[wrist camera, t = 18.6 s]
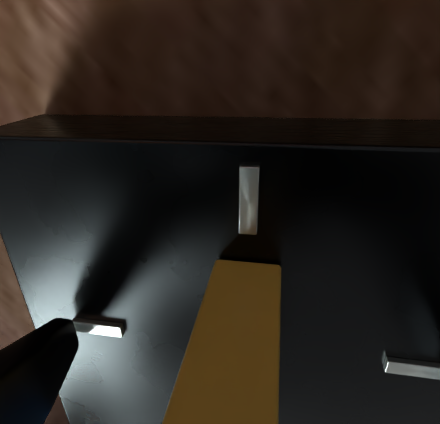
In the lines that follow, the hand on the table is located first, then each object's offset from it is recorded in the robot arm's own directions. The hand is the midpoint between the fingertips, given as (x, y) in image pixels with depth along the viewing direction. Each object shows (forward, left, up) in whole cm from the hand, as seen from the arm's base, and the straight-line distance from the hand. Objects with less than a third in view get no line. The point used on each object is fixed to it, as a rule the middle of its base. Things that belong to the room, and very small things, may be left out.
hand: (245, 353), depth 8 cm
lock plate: (0, 0, -3) cm, 3 cm away
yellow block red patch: (0, 0, 0) cm, 0 cm away
